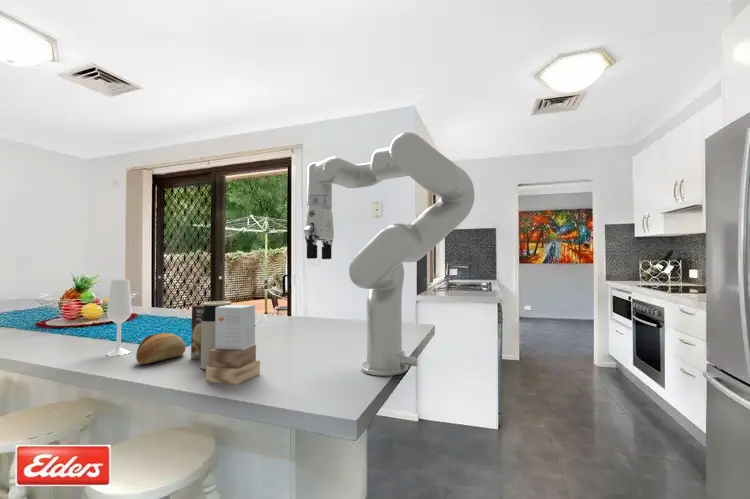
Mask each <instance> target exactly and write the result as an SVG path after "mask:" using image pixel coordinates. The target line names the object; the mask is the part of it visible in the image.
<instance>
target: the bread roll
mask: <svg viewBox="0 0 750 499" xmlns="http://www.w3.org/2000/svg"><path fill="white" fill-rule="evenodd" d="M185 344H186V343H185V341H184V340H183V339H182V338H181V337H180V336H179V335H177V334H174V333H170V332H160V333H155V334H152V335H148V336H146V337H144V338H143V339H142V340H141V342H140V344H139V345H138V348H137V350H136V354H135V355H136V356H135V359H136V361H137V363H139V364H140V365H147V364H151V363H156V362H160V361H164V360H168V359H172V358H177V357H180V356H183V355H184V353H185V352H186V345H185Z"/></svg>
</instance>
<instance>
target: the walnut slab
mask: <svg viewBox="0 0 750 499" xmlns="http://www.w3.org/2000/svg"><path fill="white" fill-rule="evenodd" d="M256 357H257V344H255V345H254V346H251V347H249V348H247V349H245V350H230V349H215V348H214V349H212V350H209V367H218V368H234V369H238V368H240V367H242V366H244V365H247V364H249V363H251V362H253V361H255V360H257V358H256Z"/></svg>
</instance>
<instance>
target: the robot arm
mask: <svg viewBox="0 0 750 499" xmlns="http://www.w3.org/2000/svg"><path fill="white" fill-rule="evenodd" d="M306 173H307V175H306V178H307V183H306V184H307V186H306V187H307V188H306V189H307V192H306V193H307V194H306V195H307V197H306V198H307V200H306V201H307V202H306V204H307V205H306V206H307V212H306V227H305V228H304V229H303V233H304V240H305V244H306V259H311V260H313V259H315V260H316V259H317V258H318V244H317V242H318V241H320V242H321V245H322V246H321V259H322V260H332V247H333V240H334V237H335V235H334V217H333V211H332V208H333V207H332V206H333V191H332V190H333V187H332V186H333V185H336V186H337V185H338V186H341V187H344V188H347V189H360V188H366V187H372V186H375V185H377V184H379V183H381V182H383V181H384V180H391V179H396V178H397V179H398V178H404V177H410V178H411V179H412V180H414V181H415V182H416V183H417V184H418V185H419V186H420V187H422V188H423V189H424V190H426V191H427V192H429V193H430V194H432V195H435V196H436V197H439V199H438V200H437V202H436V203H434V204H432V205H430V206H429V207H428V208H426V209H424V211H423V212H421V214H420V215H419V216H418V217H416V218H415V219H414V220H413V221H412V222H410V223H409V224H406V223H392V224H389V225H388V226H386V227H383V228H382V229H381V230H380V231H378V232H377V234H376V235H375V236H373V238H371V239H370V241H368V242H367V243H366V244H365V245H364V246H363V247H362V248H361V249H360V250H359V251H358V252H357V253H356V254H355V256H354V257H352V260H351V262H350V265H349V267H348V275H349V278H350V280H351V282H352V283H353V284H354V285H355V287H358V288H360V289H364V290H368V294H367V298H366V361H364V362H362V363H361V365H360V369H361V372H363V373H365V374H367V375H368V374H369V375H372V376H381V377H384V376H385V377H387V376H397V375H402V374H404V373H406V372H407V371H408V370H409V369H408V368H409V366H410V367H411V366H412V367H417V366H418V365H419V364H418V363H419V360H418V358H416V356H407V355H406V352H405V350H403V335H402V333H403V331H402V328H403V327H402V324H403V323H402V322H403V321H402V318H403V317H402V316H403V315H402V314H403V313H402V309H403V308H402V306H403V304H402V300H403V299H402V298H403V286H404V278H405V267H404V264H403V263H415V262H419V261H420V260H421V259H423V258H424V257H425V256H427V254H428V253H429V252H431V250H433V249H434V248H435V247H436V246H437V245H439V244H440V242H442V241H443V240H444V239H445V238H446V237H447V236H448V235H449V234H451V233H452V231H454V230H455V229H457V227H458V226H459V225H461V224H462V223H463V222H464V221H465V219H466V218H467V217H468V216H469V215H470V213H471V210H472V209H473V206H474V201H475V194H476V193H475V187H474V184H473V181H472V179H471V177H470V176H469V174H468V173H467V172H466V171H465V170H464V169H462V168H461V167H460V166H458V165H457V164H455V162H453V161H452V160H451V159H449V158H448V157H446V156H445V155H444V154H443V153H441V152H440V151H438V150H437V149H435V148H434V147H433V146H432V145H431V144H430V143H429V142H428V141H426V140H425V139H424V138H422V137H421V136H419V135H418V134H417V133H415V132H411V131H409V132H402V133H400V134H398V135H397V136H396V137H395V138H394V139H393V140H392V141H391V143H390V146H387V147H382V148H377V149H376V150H374V152H373V153H372V155H371V161H370V162H365V163H359V164H354V163H352V162H350V161H348V160H345V159H342V158H340V157H339V156H338V157H337V156H331V157H328V158H326V159H324V160H322V161H318V162H317V161H316V162H311V163H310V164H308V166H307V172H306Z"/></svg>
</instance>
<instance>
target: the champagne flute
mask: <svg viewBox="0 0 750 499" xmlns="http://www.w3.org/2000/svg"><path fill="white" fill-rule="evenodd" d="M130 285H131V283H130V279H111V282H110V289H109V296H108V304H107V310H106V316H107V317H108V319H109V320H110V321H112V322H113V323H114V324H116V346H115V347H116V348H114V349H113V350H110V352H108V353H106V354H107V355H108V356H107V357H118V356H117V355H120V356H125V355H124V354H126V355H128V353H129V354H131V353H130V352H131V351H130V350H128V349H125V348H122V324H123V323H125V322H126V321H127V320H128V319H129V318H130V317H131V316H132V314H133V310H132V309H133V308H132V296H131V286H130Z"/></svg>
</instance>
